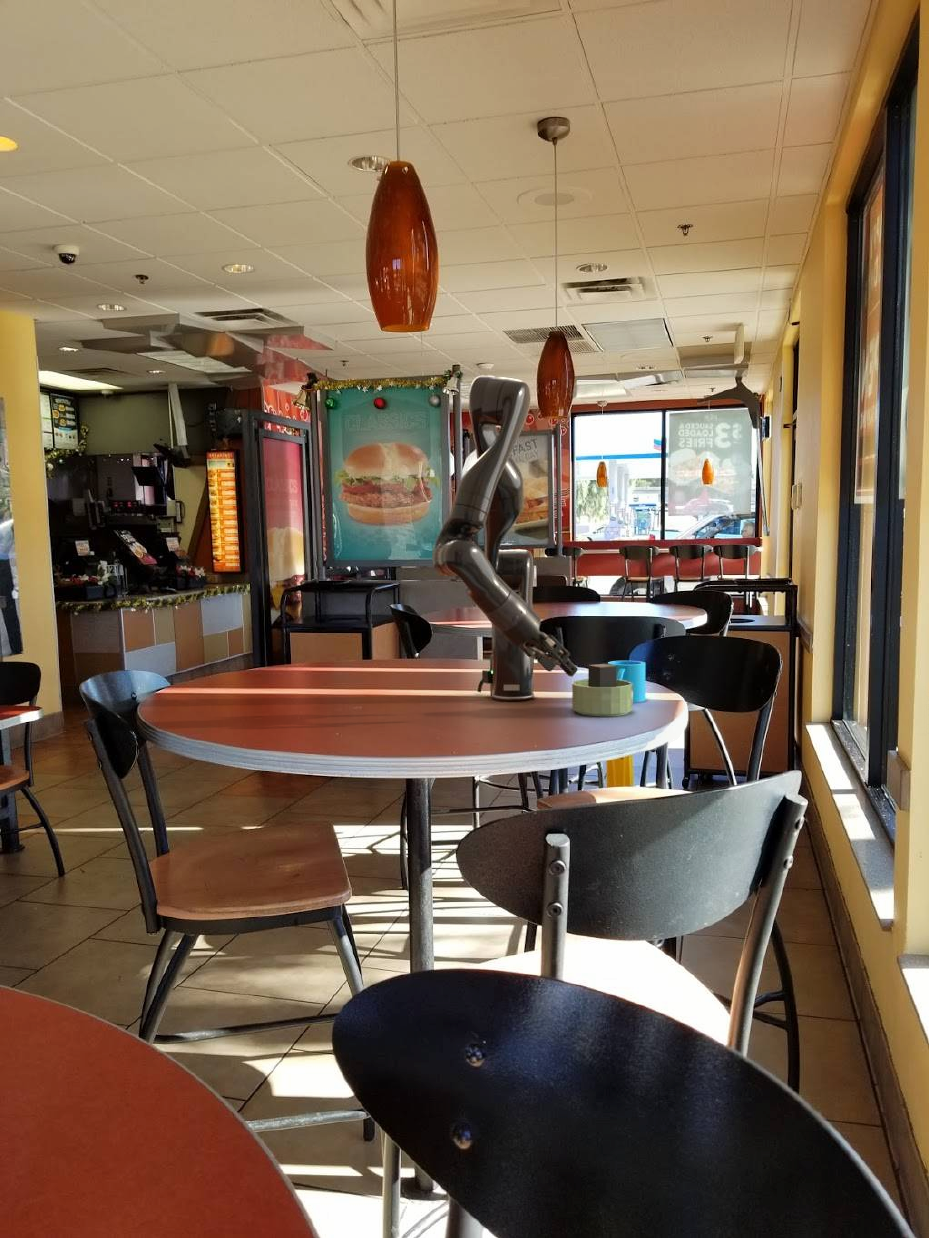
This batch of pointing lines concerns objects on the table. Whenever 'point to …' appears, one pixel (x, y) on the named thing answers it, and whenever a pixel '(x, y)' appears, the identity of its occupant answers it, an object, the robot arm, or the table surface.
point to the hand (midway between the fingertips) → (563, 670)
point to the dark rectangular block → (602, 675)
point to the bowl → (602, 698)
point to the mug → (632, 676)
